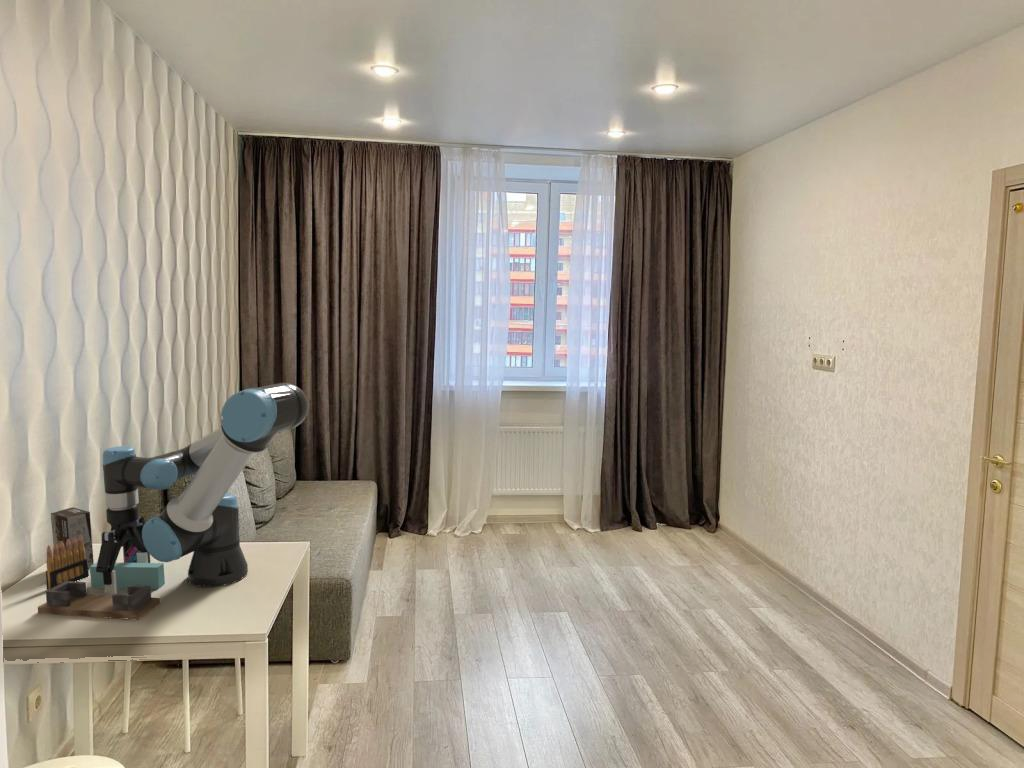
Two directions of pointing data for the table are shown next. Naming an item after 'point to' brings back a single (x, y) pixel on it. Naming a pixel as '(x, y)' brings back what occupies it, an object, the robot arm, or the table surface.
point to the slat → (132, 575)
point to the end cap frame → (98, 602)
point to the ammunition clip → (66, 563)
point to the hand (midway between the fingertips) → (127, 585)
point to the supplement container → (131, 553)
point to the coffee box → (73, 529)
